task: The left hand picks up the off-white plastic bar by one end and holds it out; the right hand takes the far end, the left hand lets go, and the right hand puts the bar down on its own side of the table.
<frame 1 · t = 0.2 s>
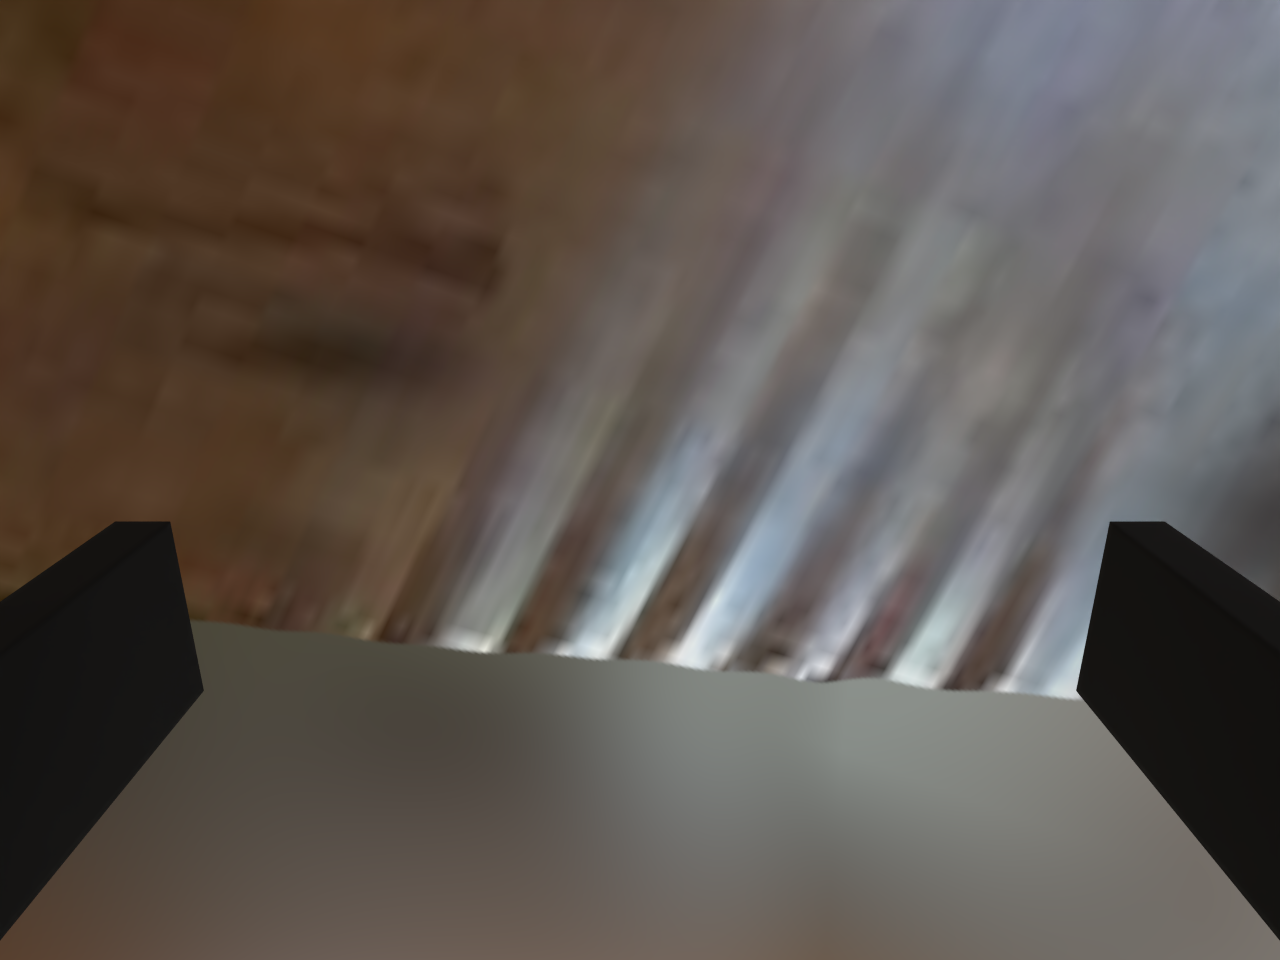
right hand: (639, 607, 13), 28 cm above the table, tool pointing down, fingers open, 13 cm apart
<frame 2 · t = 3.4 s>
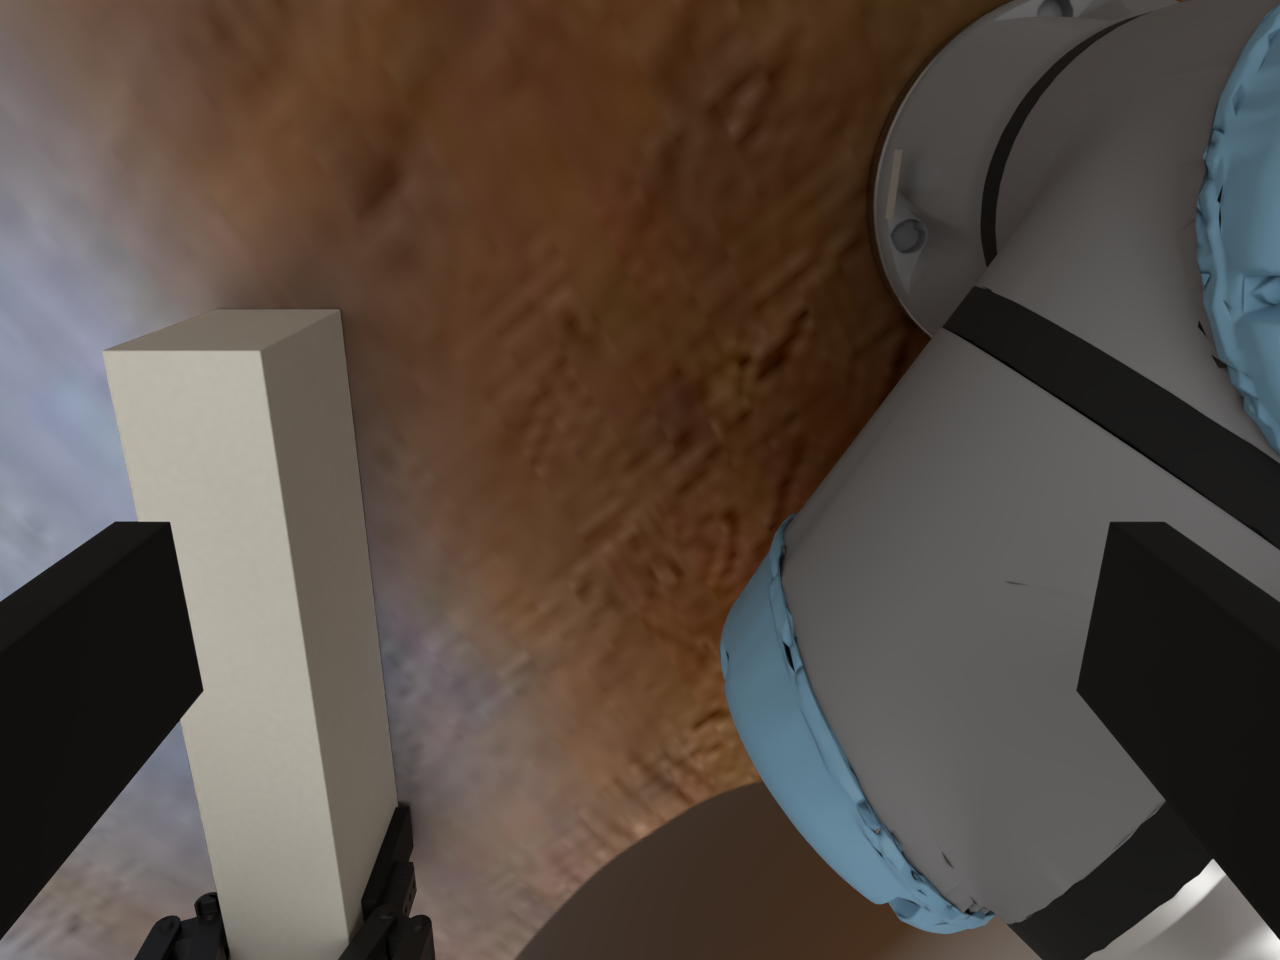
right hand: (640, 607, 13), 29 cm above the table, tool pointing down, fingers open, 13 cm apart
bar: (322, 626, 45), on the table, touching left hand
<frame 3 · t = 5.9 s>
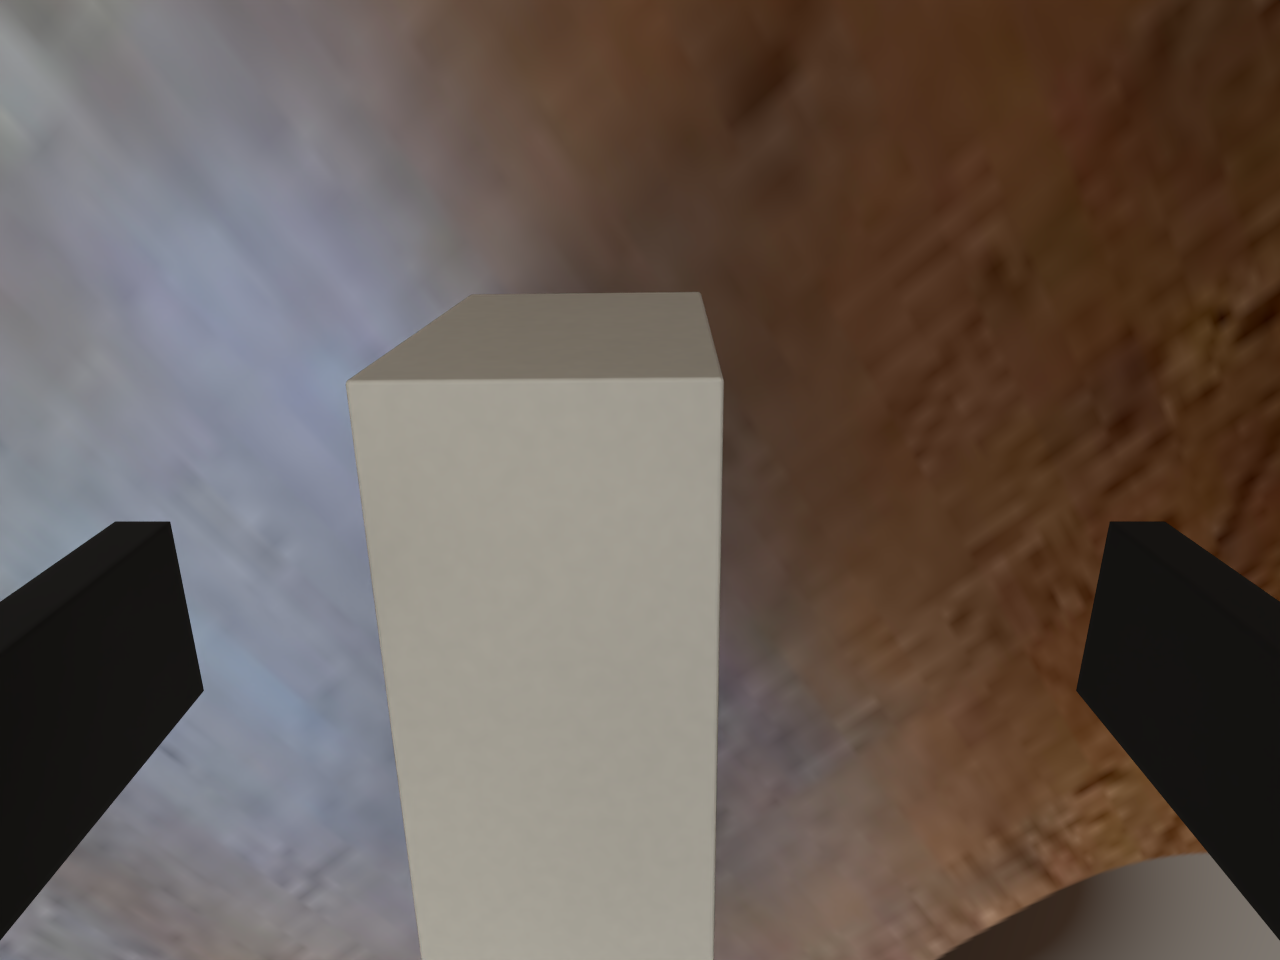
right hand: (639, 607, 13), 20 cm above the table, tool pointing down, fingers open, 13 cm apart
bar: (604, 829, 27), point 9 cm above the table, touching left hand
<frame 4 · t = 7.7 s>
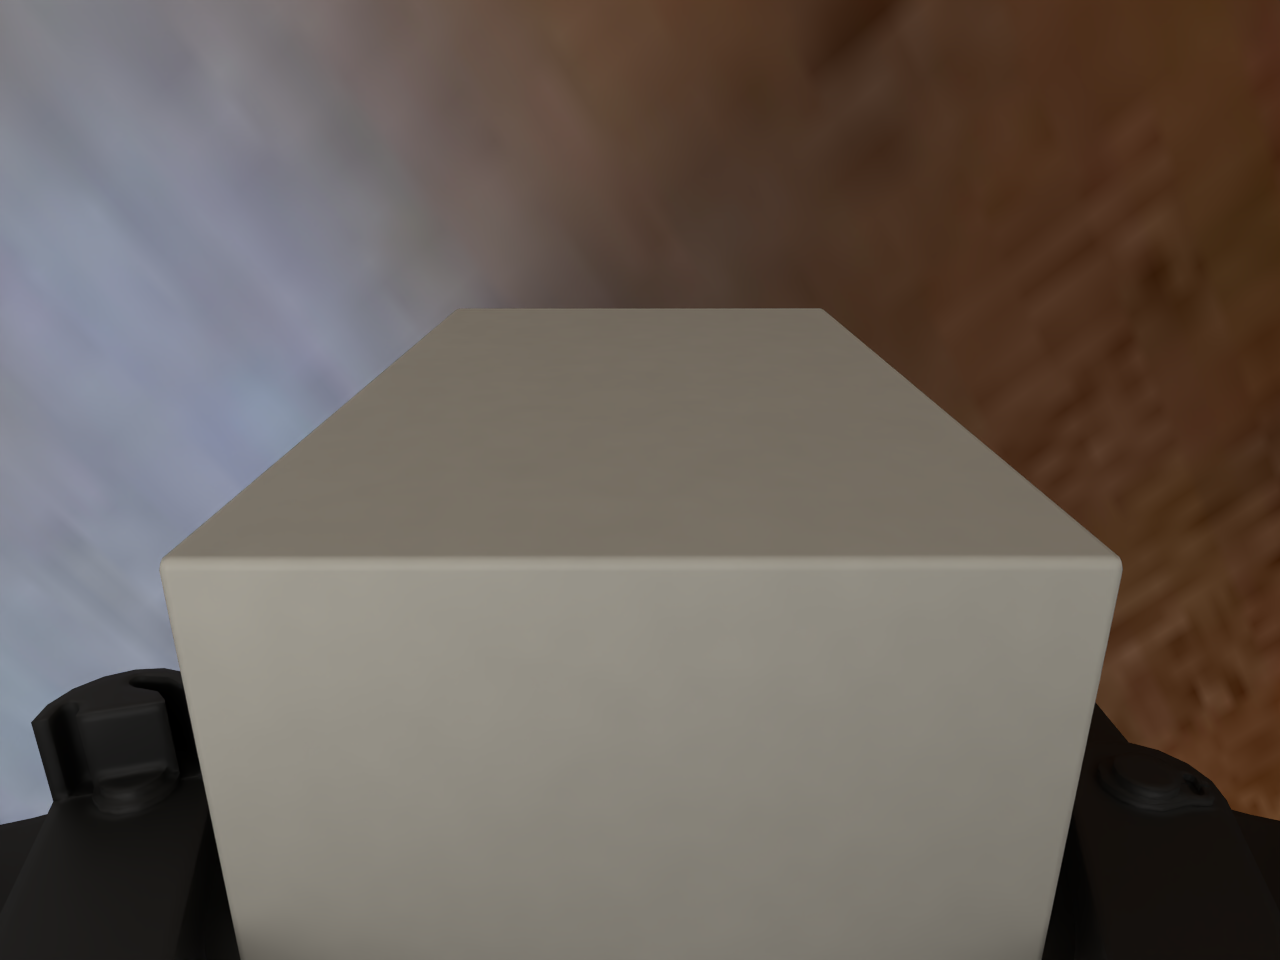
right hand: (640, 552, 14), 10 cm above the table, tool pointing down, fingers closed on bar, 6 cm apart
when the left hand's fingers open (10 cm above the table, at t = 8.5 s): bar stays where it is, held by the right hand.
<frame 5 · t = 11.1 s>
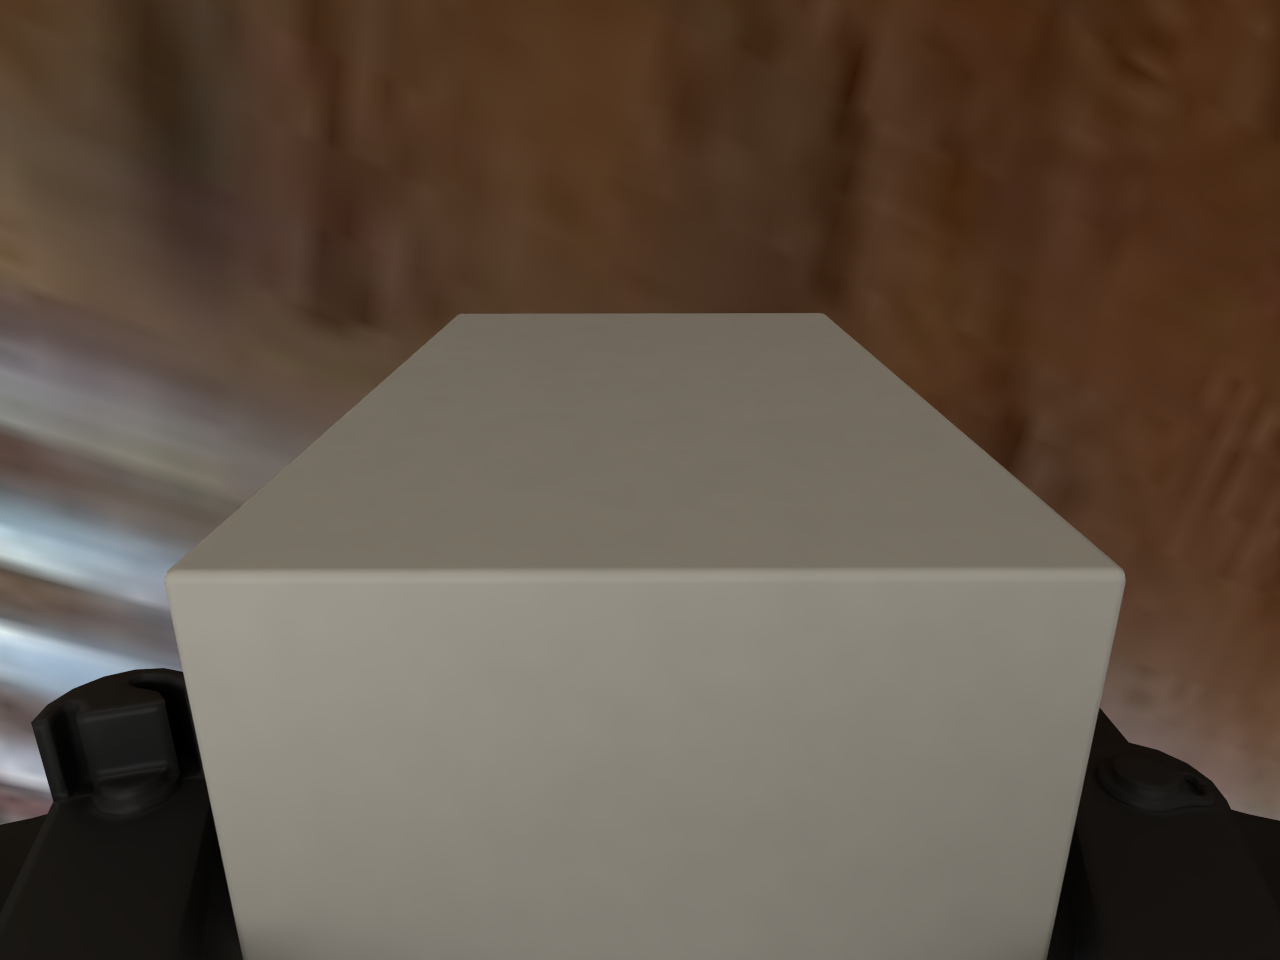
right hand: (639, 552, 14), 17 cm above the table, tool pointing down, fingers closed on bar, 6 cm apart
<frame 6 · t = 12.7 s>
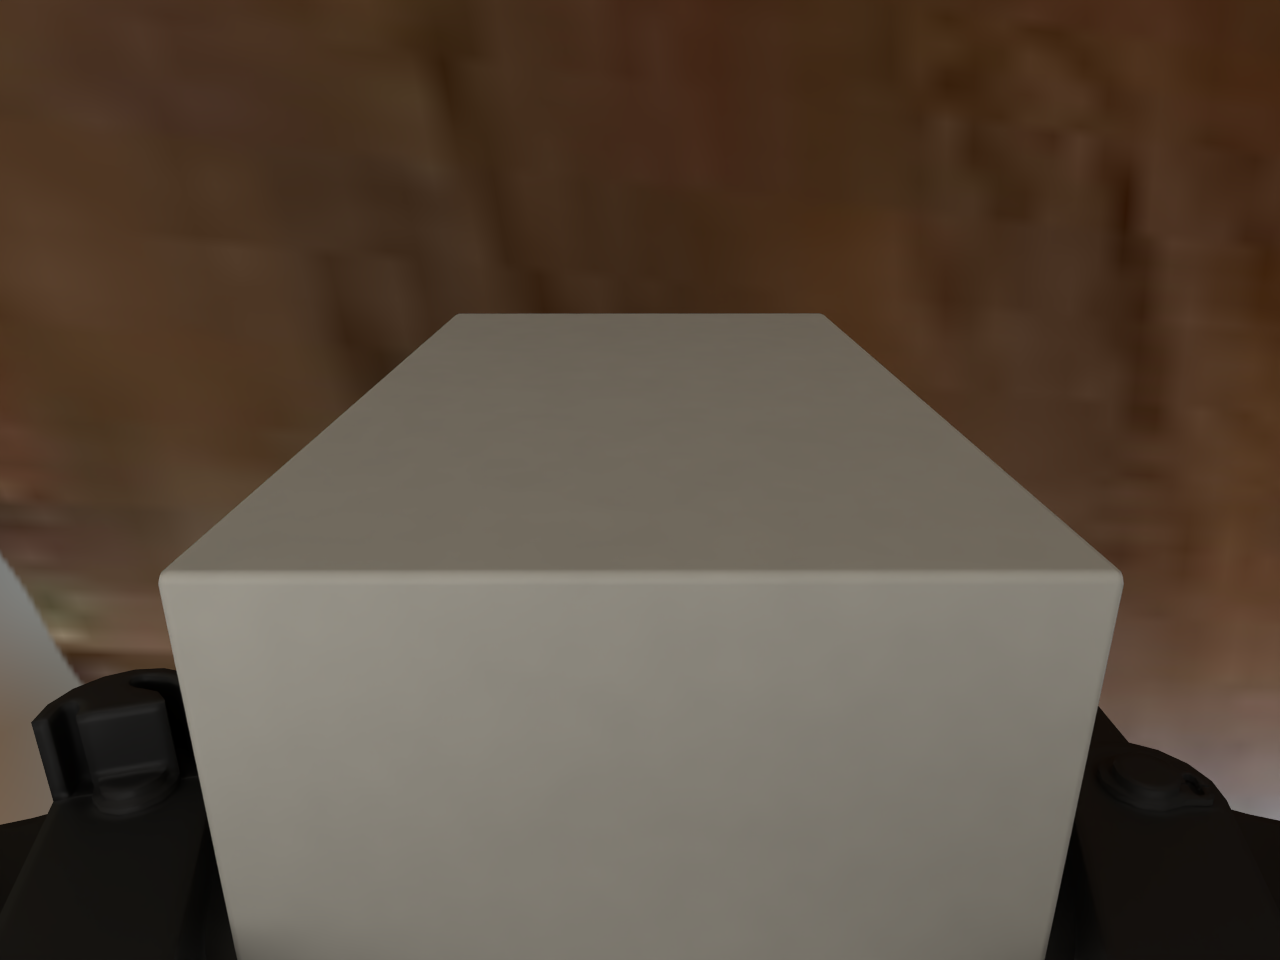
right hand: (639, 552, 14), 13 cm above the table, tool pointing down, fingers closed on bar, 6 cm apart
when the right hand's fingers open (2 cm above the table, at t = 14.3 s): bar drops 1 cm, on the table.
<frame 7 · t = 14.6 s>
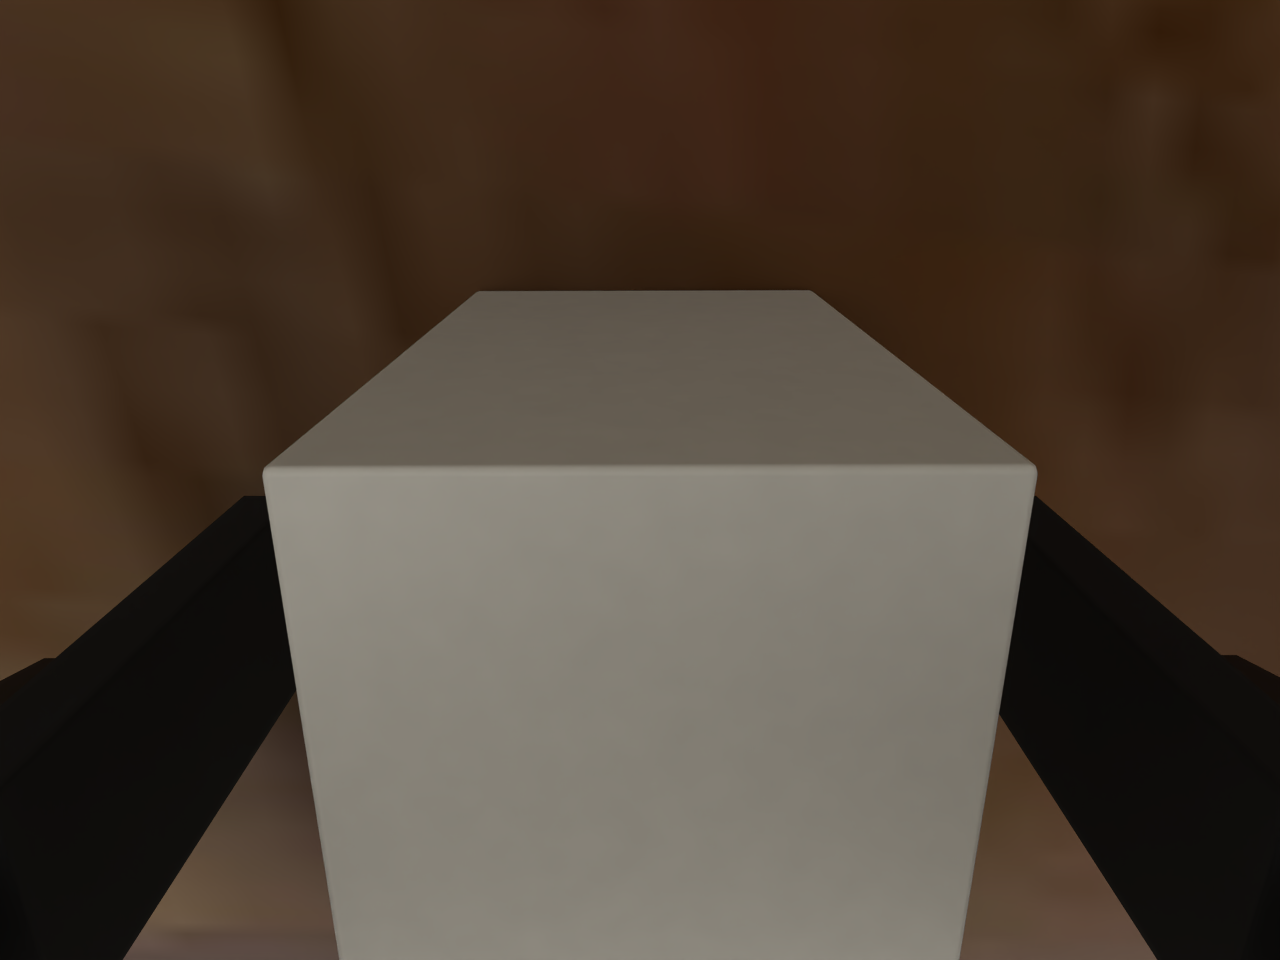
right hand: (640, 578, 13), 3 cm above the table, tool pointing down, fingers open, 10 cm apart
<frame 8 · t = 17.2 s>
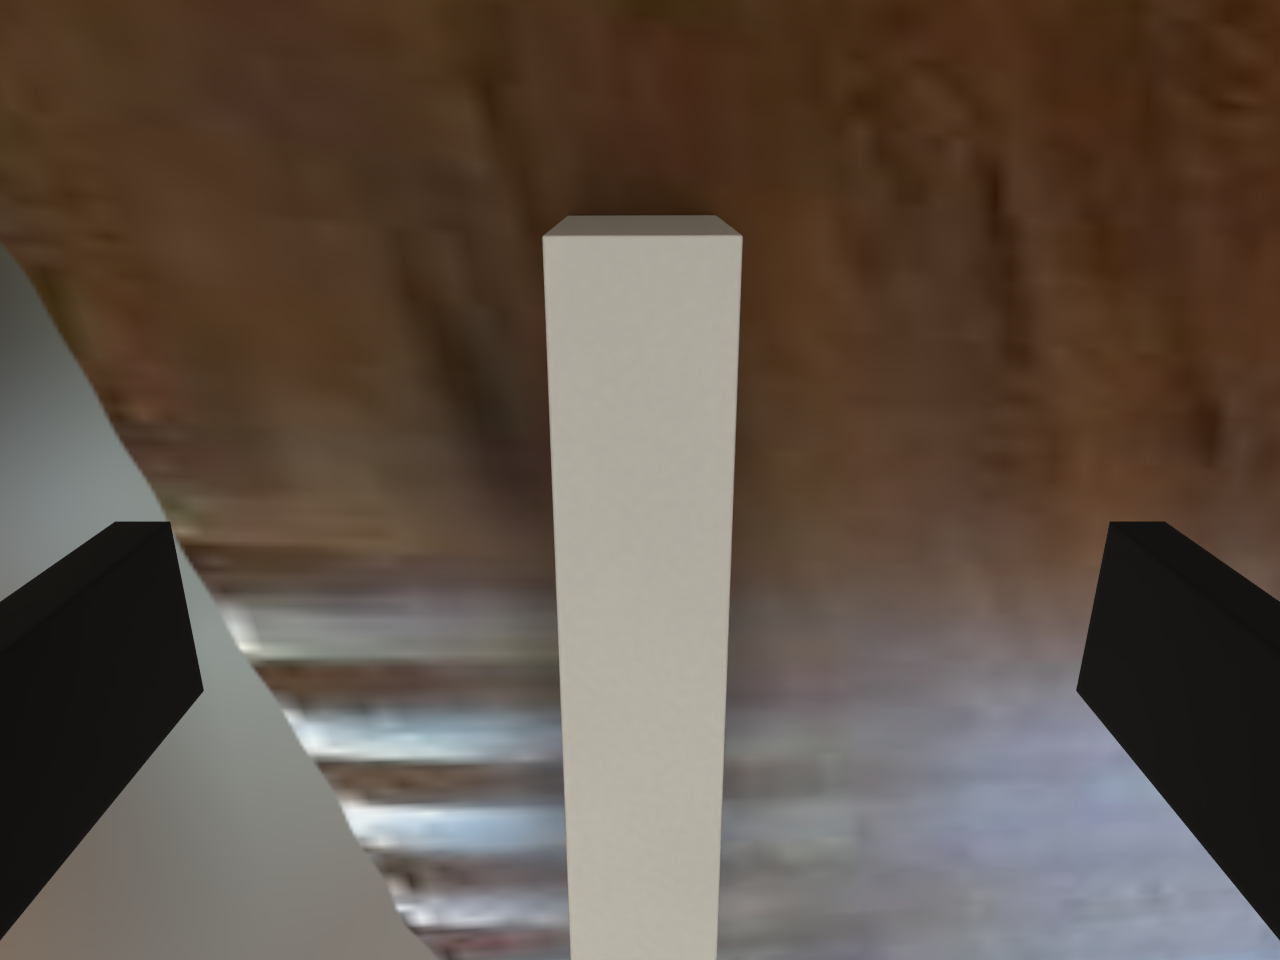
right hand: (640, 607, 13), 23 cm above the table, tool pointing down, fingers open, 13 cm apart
bar: (642, 599, 39), on the table
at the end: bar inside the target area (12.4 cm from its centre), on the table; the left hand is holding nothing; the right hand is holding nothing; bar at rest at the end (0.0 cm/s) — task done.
